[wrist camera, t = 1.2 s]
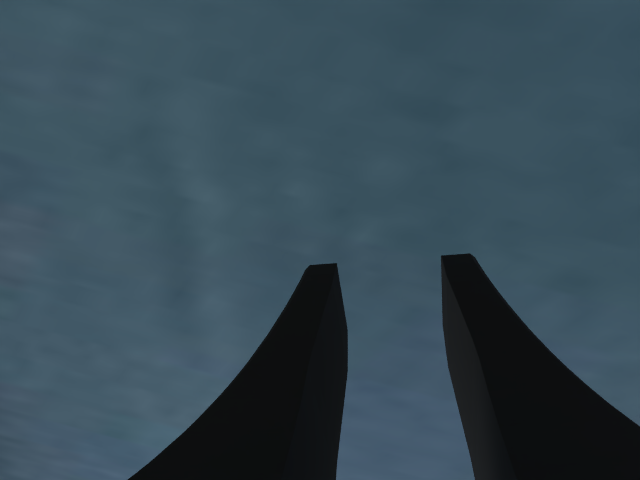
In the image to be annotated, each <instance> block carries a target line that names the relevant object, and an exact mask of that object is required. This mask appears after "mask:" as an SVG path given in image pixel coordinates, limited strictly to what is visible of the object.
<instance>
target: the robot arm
mask: <svg viewBox="0 0 640 480" xmlns="http://www.w3.org/2000/svg"><path fill="white" fill-rule="evenodd" d="M441 273H442V313H443V330H444V338H445V346H446V354H447V361H448V368H449V372H450V376H451V380H452V384H453V388H454V392H455V396H456V401H457V405H458V409H459V413H460V417H461V421H462V425H463V429H464V433H465V437H466V441H467V445H468V449H469V453H470V457H471V462H472V467H473V472H474V477H475V480H640V426H638V425H637V424H636V423H634V422H633V421H632V420H630V419H629V418H628V417H626V416H625V415H624V414H622V413H621V412H620V411H618V410H617V409H616V408H614V407H613V406H612V405H610V404H609V403H608V402H607V401H605V400H604V399H603V398H602V397H601V396H599V395H598V394H597V393H596V392H595V391H593V390H592V389H591V388H590V387H589V386H587V385H586V384H585V383H584V382H583V381H582V380H581V379H579V378H578V377H577V376H576V375H575V374H574V373H573V372H572V371H571V370H569V369H568V368H567V367H566V366H565V365H564V364H563V363H562V362H561V361H560V360H559V359H558V358H557V357H556V356H555V355H554V354H553V353H552V352H551V351H550V350H549V349H548V348H547V347H546V346H545V345H544V344H543V343H542V342H541V341H540V340H539V339H538V338H537V337H536V336H535V335H534V334H533V332H532V331H531V330H530V329H529V328H528V327H527V326H526V325H525V324H524V322H523V321H522V320H521V319H520V318H519V316H518V315H517V314H516V313H515V312H514V311H513V309H512V308H511V307H510V306H509V305H508V303H507V302H506V301H505V300H504V298H503V297H502V296H501V295H500V293H499V292H498V291H497V289H496V288H495V287H494V285H493V284H492V282H491V281H490V280H489V278H488V277H487V275H486V274H485V272H484V271H483V269H482V268H481V266H480V265H479V263H478V262H477V260H476V258H475V257H474V256H473V255H471V254H457V255H444V256H441ZM347 371H348V330H347V324H346V318H345V311H344V305H343V299H342V293H341V287H340V281H339V275H338V268H337V263H333V264H319V265H309V267H308V268H307V269H306V270H305V272H304V274H303V276H302V278H301V280H300V282H299V284H298V285H297V287H296V289H295V291H294V293H293V294H292V296H291V298H290V300H289V301H288V303H287V305H286V307H285V308H284V310H283V311H282V313H281V315H280V316H279V318H278V319H277V321H276V322H275V324H274V326H273V327H272V329H271V330H270V332H269V333H268V335H267V336H266V338H265V339H264V340H263V342H262V343H261V345H260V346H259V347H258V349H257V350H256V351H255V353H254V354H253V356H252V357H251V358H250V360H249V361H248V362H247V364H246V365H245V366H244V368H243V369H242V370H241V371H240V373H239V374H238V375H237V376H236V377H235V379H234V380H233V381H232V382H231V383H230V384H229V386H228V387H227V388H226V389H225V390H224V391H223V393H222V394H221V395H220V396H219V397H218V398H217V399H216V400H215V401H214V402H213V403H212V404H211V405H210V406H209V408H208V409H207V410H206V411H205V412H204V413H203V414H202V415H201V416H200V417H199V418H198V419H197V420H196V421H195V422H194V423H193V424H192V425H191V426H190V427H189V428H188V429H187V430H186V431H185V432H184V433H182V434H181V435H180V436H179V437H178V438H177V439H176V440H175V441H173V442H172V443H171V444H170V445H169V446H168V447H167V448H165V449H164V450H163V451H162V452H161V453H160V454H159V455H158V456H156V457H155V458H154V459H153V460H152V461H151V462H149V463H148V464H147V465H146V466H145V467H143V468H142V469H141V470H139V471H138V472H137V473H136V474H134V475H133V476H132V477H130V478H129V479H128V480H336V469H337V458H338V449H339V441H340V432H341V424H342V415H343V407H344V398H345V389H346V380H347Z"/></svg>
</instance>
